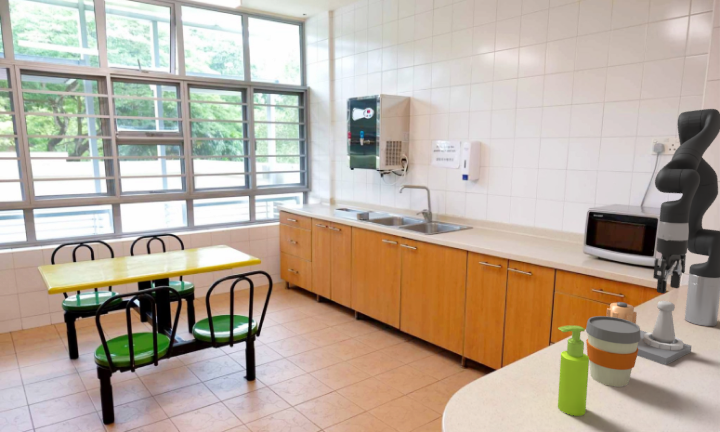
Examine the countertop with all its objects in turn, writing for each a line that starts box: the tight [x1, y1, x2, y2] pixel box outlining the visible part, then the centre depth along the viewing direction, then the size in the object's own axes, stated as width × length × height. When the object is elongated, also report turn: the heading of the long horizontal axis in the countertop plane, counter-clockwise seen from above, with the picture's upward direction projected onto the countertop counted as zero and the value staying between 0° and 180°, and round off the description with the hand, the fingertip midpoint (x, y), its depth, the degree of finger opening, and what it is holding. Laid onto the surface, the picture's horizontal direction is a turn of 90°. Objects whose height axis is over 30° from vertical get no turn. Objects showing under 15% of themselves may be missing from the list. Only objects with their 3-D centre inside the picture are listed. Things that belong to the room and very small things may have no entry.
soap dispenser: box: [557, 325, 590, 417], centre depth 105 cm, size 6×7×20 cm
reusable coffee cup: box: [585, 315, 641, 388], centre depth 120 cm, size 13×13×15 cm
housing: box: [606, 301, 692, 366], centre depth 141 cm, size 16×21×13 cm
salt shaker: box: [651, 300, 676, 344], centre depth 138 cm, size 6×6×13 cm
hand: (668, 290), depth 136 cm, fingers open, 8 cm apart
